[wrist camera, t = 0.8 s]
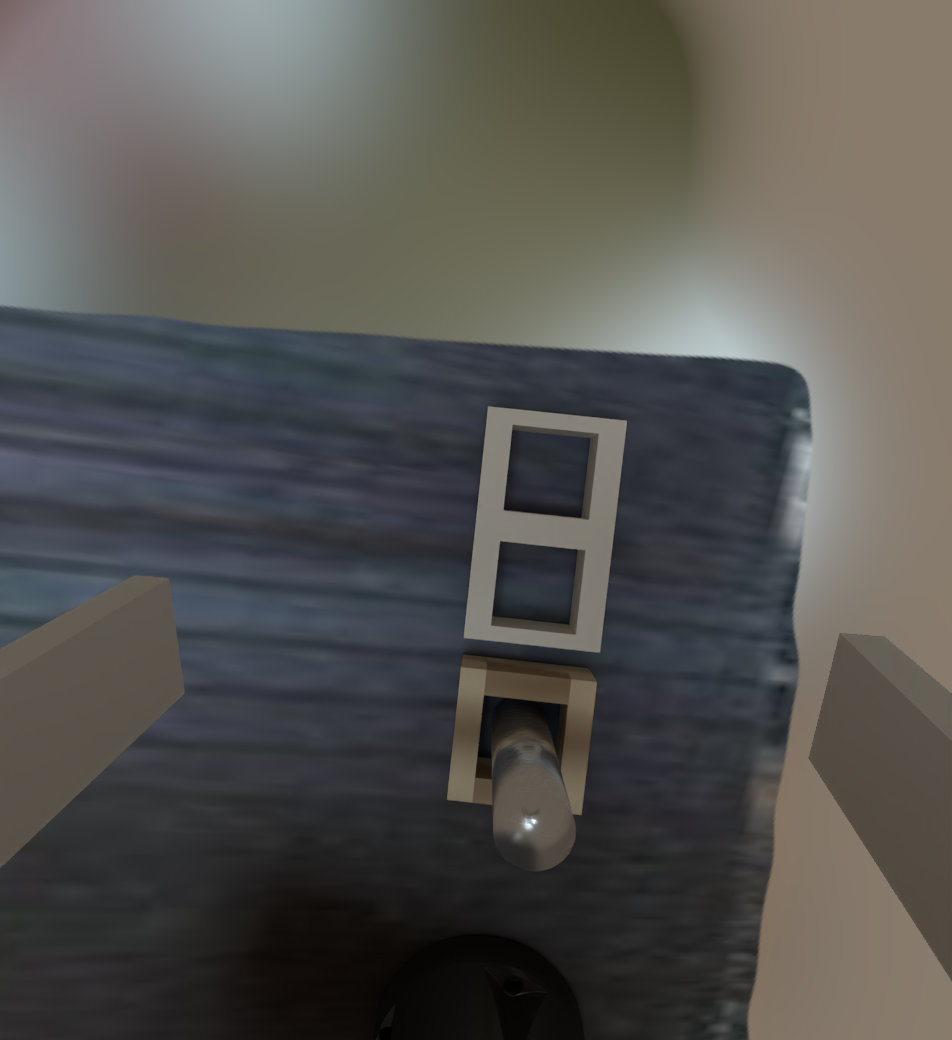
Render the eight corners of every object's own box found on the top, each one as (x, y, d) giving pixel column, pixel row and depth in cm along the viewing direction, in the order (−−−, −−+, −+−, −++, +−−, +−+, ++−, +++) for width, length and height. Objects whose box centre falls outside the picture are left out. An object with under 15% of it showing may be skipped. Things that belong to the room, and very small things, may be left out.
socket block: (574, 791, 40) (581, 815, 37) (449, 777, 40) (446, 799, 37) (588, 668, 40) (597, 682, 37) (462, 654, 40) (460, 667, 37)
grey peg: (555, 737, 40) (588, 852, 27) (504, 759, 40) (513, 883, 27) (533, 686, 40) (555, 777, 27) (482, 708, 40) (479, 810, 27)
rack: (591, 640, 40) (599, 652, 37) (465, 627, 40) (463, 637, 37) (616, 426, 39) (627, 420, 36) (488, 413, 39) (488, 406, 36)
